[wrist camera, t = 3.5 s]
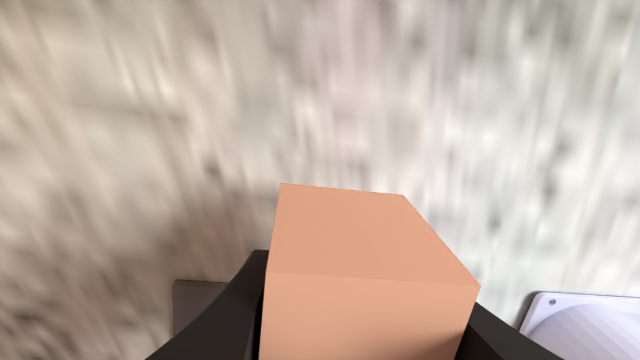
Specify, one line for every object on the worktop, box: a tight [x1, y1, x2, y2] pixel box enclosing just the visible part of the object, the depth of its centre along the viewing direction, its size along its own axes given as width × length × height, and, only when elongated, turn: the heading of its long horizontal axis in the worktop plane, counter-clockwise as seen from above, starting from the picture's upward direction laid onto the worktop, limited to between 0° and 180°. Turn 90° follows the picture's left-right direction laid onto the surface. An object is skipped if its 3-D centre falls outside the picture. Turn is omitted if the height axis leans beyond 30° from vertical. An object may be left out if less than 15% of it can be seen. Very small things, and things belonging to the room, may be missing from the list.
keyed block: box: [259, 183, 481, 360], centre depth 9 cm, size 4×6×5 cm
